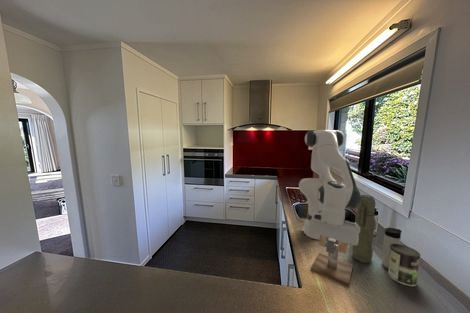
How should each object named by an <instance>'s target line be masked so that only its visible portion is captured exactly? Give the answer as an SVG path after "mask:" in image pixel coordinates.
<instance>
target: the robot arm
mask: <svg viewBox="0 0 470 313" xmlns="http://www.w3.org/2000/svg"><path fill="white" fill-rule="evenodd" d="M344 141H345V136H344V133H343V131H341V130H338V129H337V130H335V129H334V130H332V129H331V130H330V129H317V130H308V131H307V132H306V134H305V135H304V142H305V145H306V146H308V147H310V148H312V150H311V151H312V152H311V157H310V158H311V160H310V162H311V163H310V169H311V171H312V172H314V173H316V174H317V175H318V176H319V177H317V178H314V177H307V178H302V179H300V181H299V183H298V189H299V191H300V193H302V194H303V196H304V197H305V198H306V200H307V203H308V208H307V209H308V210H307V215H306V216H307V217H306V219H305V220H304V226H303V228H301V232H303V231H304V232H303V233H304V234H306V235H305V236H307V237H308V238H311V239H314V240H318V241H320V235H322V239H323V241H324V245H325V246H327V241H326V238H325V237H329V238H332V239H335V240H338V244H335V249H337V250H338V249H339V246H340V245H341V243H342V242H345V243H348V245H352V246H353V245H355V246H356V245H358V242H359V233H360V230H361V228H360V226H359V225H358V224H357V223H355V222H351V221H349V220H345V217H346V211H345V209H346V208H349V209H351V210H352V209H355V208H358V205H360V203H361V195H362V194H361V193H360V190H359V188H358V186H357V183H356V181H355V177H354V175H353V171H352V168H351V166H350V162H349V161H348V159H347V158H345V157H344V156H343V155H342V154H341V152H340V149H339V148H340V147H341V146H343V143H344ZM330 168H332V169H335V170H336V171H338V172H339V173H340V174H341V177H342V180H343V182H340V181H337V180H336V179H334V177H333V176H332V173H331V170H330ZM356 225H357V226H356Z"/></svg>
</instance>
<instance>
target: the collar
mask: <svg viewBox="0 0 470 313" xmlns="http://www.w3.org/2000/svg"><path fill="white" fill-rule="evenodd" d="M325 238H326V241H327V246H325V245H324V241H323V239H322V235H320V240H318V241H319V242H318V244H319V246H322V247H323V248H324V247H325V248H326V253H328V254H329V253H332V254H334V252H335V250H336V251H338V253H342V254H346V253H347V249H348V247H349V244H348V243H345V242H342V243H341V245H340V246H339V249H338V250H337V249H335V244H338V240H335V239H332V238H329V237H325Z"/></svg>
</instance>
